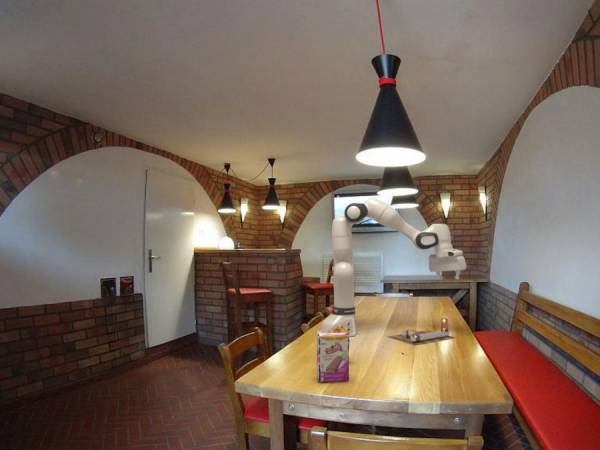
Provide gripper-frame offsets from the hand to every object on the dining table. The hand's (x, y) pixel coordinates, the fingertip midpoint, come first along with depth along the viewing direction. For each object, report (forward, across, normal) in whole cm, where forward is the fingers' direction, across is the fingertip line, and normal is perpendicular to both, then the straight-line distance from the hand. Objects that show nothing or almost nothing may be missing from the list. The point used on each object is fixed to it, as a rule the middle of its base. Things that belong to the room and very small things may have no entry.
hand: (449, 279), depth 193 cm
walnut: (+25, -9, -25) cm, 37 cm away
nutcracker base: (+28, -8, -19) cm, 34 cm away
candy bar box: (+22, +9, -90) cm, 93 cm away
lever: (+26, -3, -19) cm, 32 cm away
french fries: (+22, -5, -76) cm, 79 cm away
